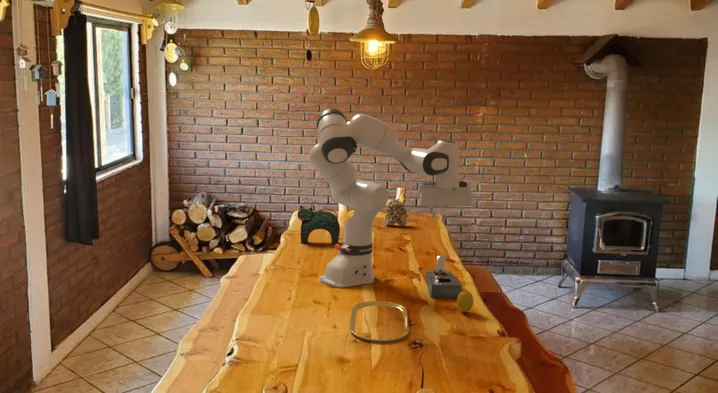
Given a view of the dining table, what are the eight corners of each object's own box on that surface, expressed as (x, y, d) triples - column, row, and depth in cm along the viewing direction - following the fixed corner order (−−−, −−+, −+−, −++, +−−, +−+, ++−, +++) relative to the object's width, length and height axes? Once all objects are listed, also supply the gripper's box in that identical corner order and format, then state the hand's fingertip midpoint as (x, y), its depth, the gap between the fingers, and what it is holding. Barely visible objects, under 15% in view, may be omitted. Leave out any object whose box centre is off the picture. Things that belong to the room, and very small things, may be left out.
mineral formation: (382, 224, 365) (383, 196, 363) (407, 224, 366) (408, 197, 364) (384, 227, 358) (385, 199, 355) (409, 228, 358) (410, 200, 356)
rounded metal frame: (348, 343, 208) (348, 338, 208) (353, 304, 242) (353, 299, 242) (409, 346, 207) (410, 341, 207) (405, 306, 242) (406, 302, 242)
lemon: (470, 309, 239) (472, 287, 238) (473, 315, 234) (475, 293, 232) (455, 309, 239) (456, 287, 238) (457, 315, 234) (459, 292, 232)
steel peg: (439, 285, 265) (441, 257, 263) (433, 282, 268) (435, 255, 266) (445, 283, 268) (446, 256, 265) (439, 281, 270) (440, 254, 268)
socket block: (454, 287, 263) (454, 277, 262) (428, 287, 263) (428, 276, 262) (450, 279, 273) (450, 269, 272) (425, 279, 272) (425, 269, 272)
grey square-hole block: (461, 298, 251) (461, 285, 250) (431, 297, 250) (431, 284, 249) (456, 288, 261) (456, 276, 260) (427, 288, 261) (428, 275, 260)
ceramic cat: (297, 243, 320) (297, 201, 316) (297, 240, 326) (298, 199, 322) (339, 244, 320) (340, 203, 317) (339, 241, 327) (340, 200, 323)
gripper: (420, 183, 261) (419, 218, 263) (473, 183, 261) (472, 218, 263) (418, 180, 267) (418, 215, 269) (471, 180, 267) (470, 215, 269)
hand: (445, 216), depth 266 cm, fingers open, 8 cm apart
